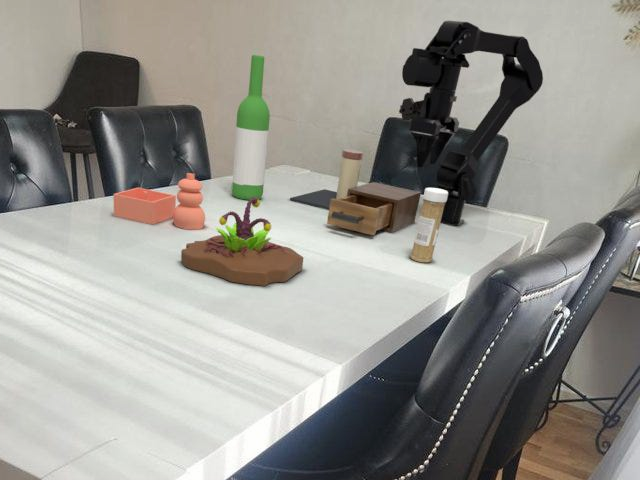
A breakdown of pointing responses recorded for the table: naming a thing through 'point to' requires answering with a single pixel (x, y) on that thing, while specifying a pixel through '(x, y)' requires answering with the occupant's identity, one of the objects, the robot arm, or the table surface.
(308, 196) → the mat
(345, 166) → the spice shaker
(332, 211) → the drawer
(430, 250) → the spice jar
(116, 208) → the pottery
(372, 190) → the cabinet
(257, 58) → the wine bottle
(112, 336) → the table surface
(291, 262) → the plant
